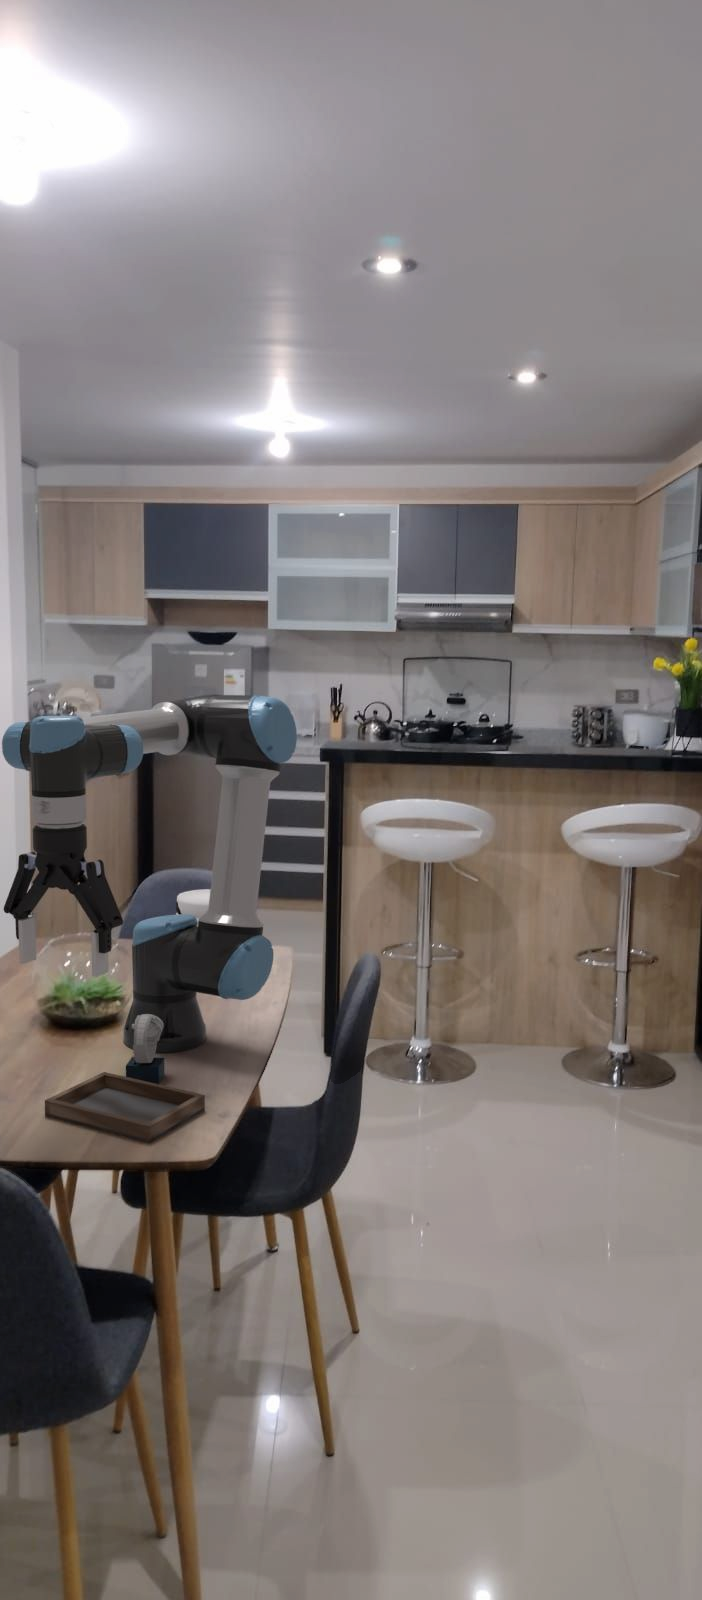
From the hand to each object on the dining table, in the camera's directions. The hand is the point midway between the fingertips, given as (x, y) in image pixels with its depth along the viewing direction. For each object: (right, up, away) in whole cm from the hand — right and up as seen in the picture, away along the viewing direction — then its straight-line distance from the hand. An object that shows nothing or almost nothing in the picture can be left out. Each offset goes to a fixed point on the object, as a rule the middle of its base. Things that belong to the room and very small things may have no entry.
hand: (63, 967), depth 164 cm
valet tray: (+7, -24, +11) cm, 27 cm away
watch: (+7, -23, +25) cm, 35 cm away
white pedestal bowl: (+10, -15, +90) cm, 92 cm away
